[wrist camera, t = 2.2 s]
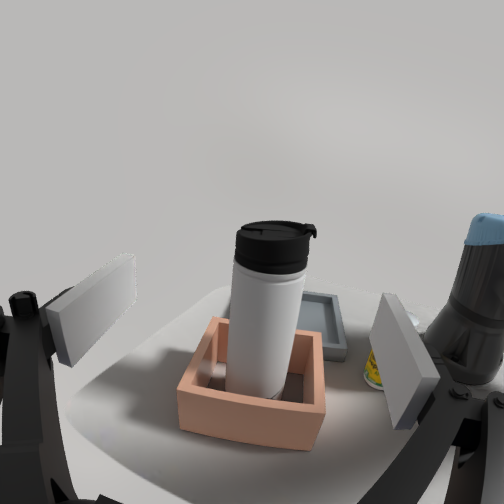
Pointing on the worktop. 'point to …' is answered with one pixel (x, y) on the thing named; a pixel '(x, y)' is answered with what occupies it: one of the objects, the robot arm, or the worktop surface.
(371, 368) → the supplement bottle
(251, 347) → the travel mug
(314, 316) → the grey tray
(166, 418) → the worktop surface
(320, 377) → the square planter box
